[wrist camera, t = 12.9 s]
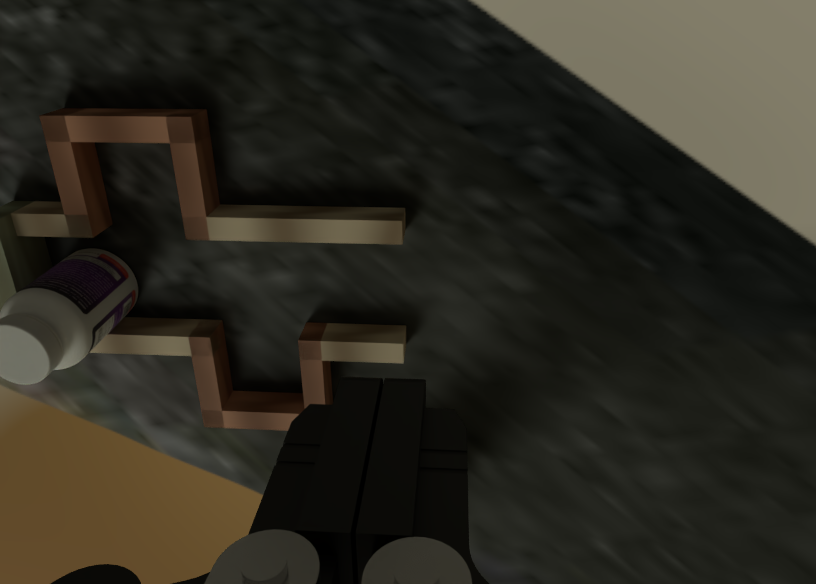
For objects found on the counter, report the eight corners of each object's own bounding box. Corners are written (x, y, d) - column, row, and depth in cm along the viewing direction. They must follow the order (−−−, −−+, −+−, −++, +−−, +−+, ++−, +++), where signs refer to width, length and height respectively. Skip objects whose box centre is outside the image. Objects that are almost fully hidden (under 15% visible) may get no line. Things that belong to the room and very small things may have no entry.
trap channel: (404, 110, 37) (398, 124, 34) (406, 413, 47) (402, 449, 43) (-14, 107, 39) (-62, 119, 36) (70, 400, 49) (39, 433, 45)
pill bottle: (50, 253, 43) (-53, 320, 35) (122, 239, 42) (35, 305, 34) (84, 321, 45) (-5, 401, 37) (152, 310, 45) (78, 389, 36)
